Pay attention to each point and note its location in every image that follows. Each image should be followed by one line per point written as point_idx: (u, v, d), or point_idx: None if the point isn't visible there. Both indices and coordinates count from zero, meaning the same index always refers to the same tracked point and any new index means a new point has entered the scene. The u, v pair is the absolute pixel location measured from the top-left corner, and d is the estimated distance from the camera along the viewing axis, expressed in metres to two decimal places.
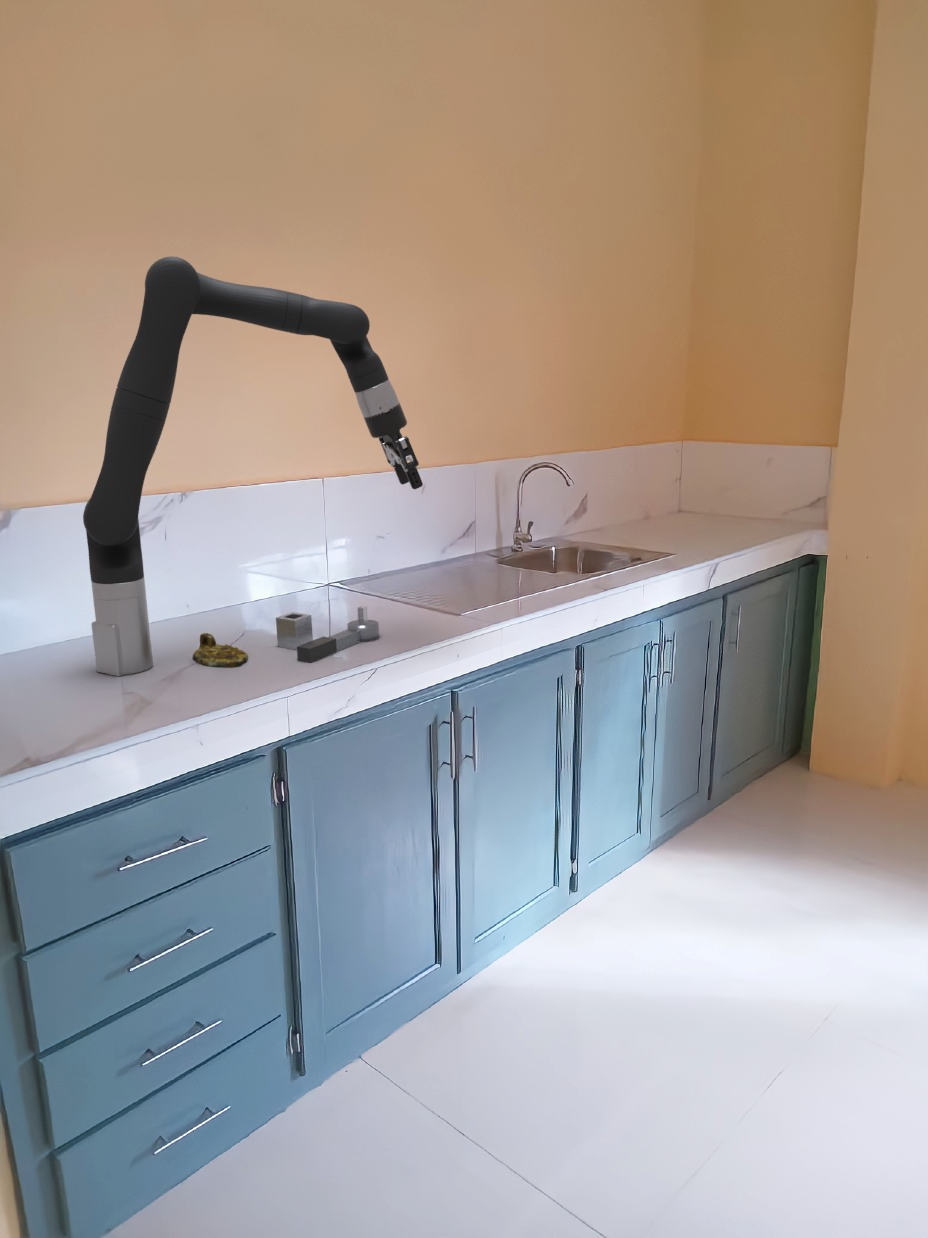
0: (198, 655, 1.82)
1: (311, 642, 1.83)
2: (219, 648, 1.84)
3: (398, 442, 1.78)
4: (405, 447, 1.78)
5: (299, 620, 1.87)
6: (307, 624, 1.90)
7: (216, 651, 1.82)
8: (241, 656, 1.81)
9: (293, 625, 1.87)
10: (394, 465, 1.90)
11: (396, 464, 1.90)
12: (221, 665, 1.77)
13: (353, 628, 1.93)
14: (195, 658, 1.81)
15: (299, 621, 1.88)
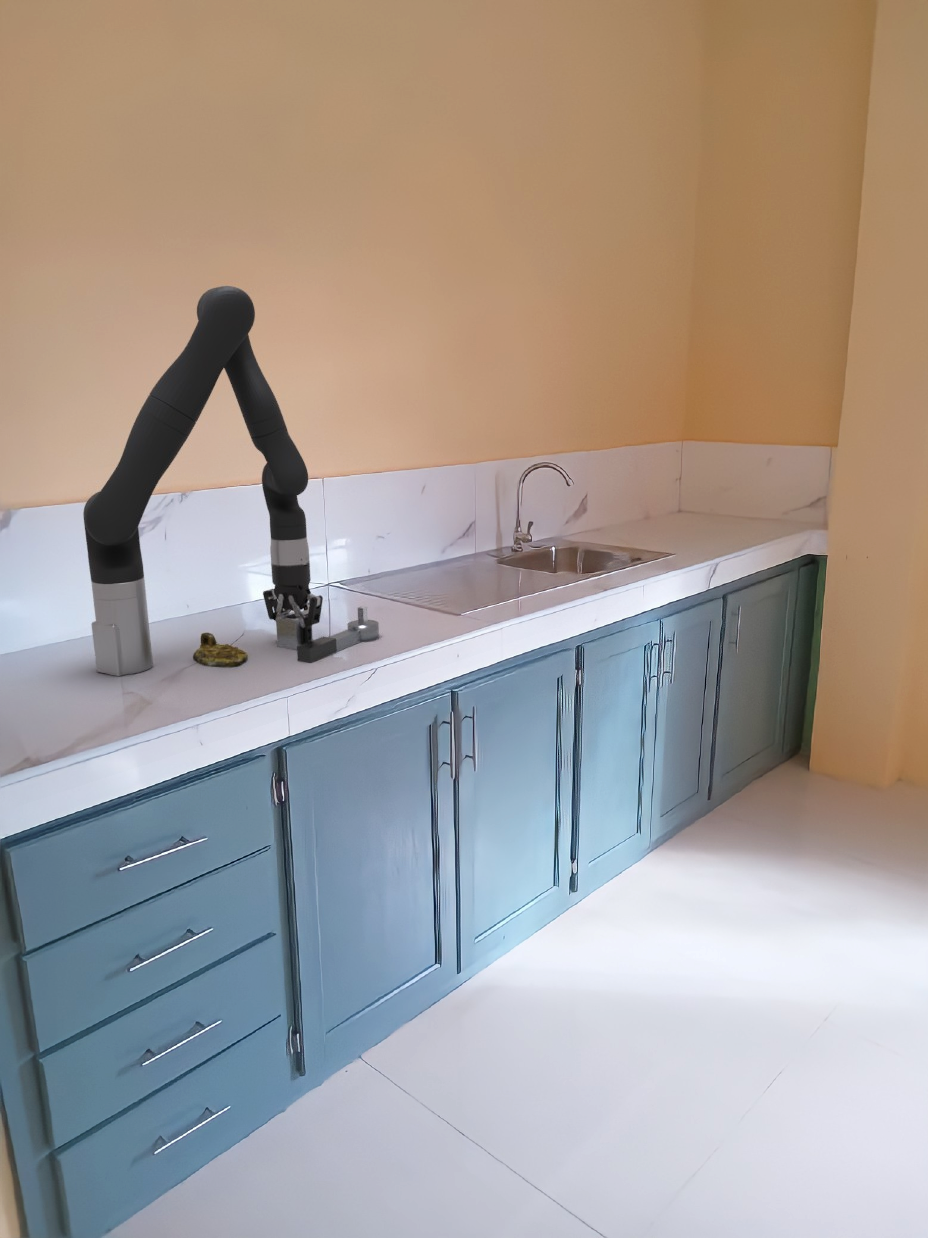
0: (198, 654, 1.82)
1: (311, 642, 1.83)
2: (219, 648, 1.84)
3: (316, 600, 1.84)
4: (317, 606, 1.86)
5: None
6: None
7: (216, 651, 1.83)
8: (241, 656, 1.81)
9: (293, 625, 1.87)
10: None
11: None
12: (220, 665, 1.77)
13: (353, 628, 1.93)
14: (195, 657, 1.82)
15: (299, 621, 1.88)
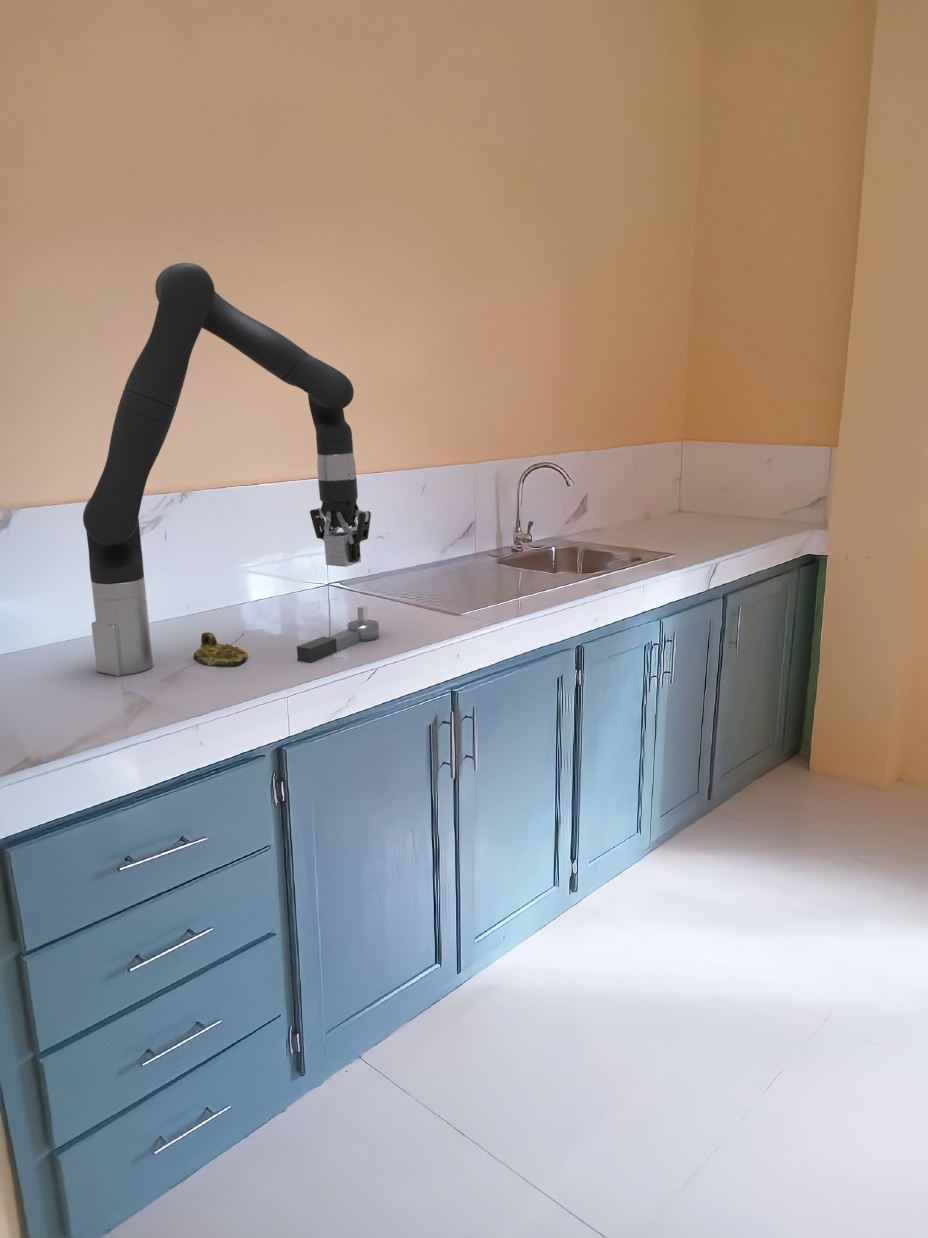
0: (198, 654, 1.82)
1: (311, 642, 1.83)
2: (219, 647, 1.84)
3: (364, 515, 1.84)
4: (366, 521, 1.85)
5: (347, 537, 1.87)
6: None
7: (216, 650, 1.83)
8: (240, 656, 1.81)
9: (342, 542, 1.86)
10: None
11: None
12: (220, 664, 1.78)
13: (353, 628, 1.93)
14: (195, 657, 1.82)
15: (347, 538, 1.87)
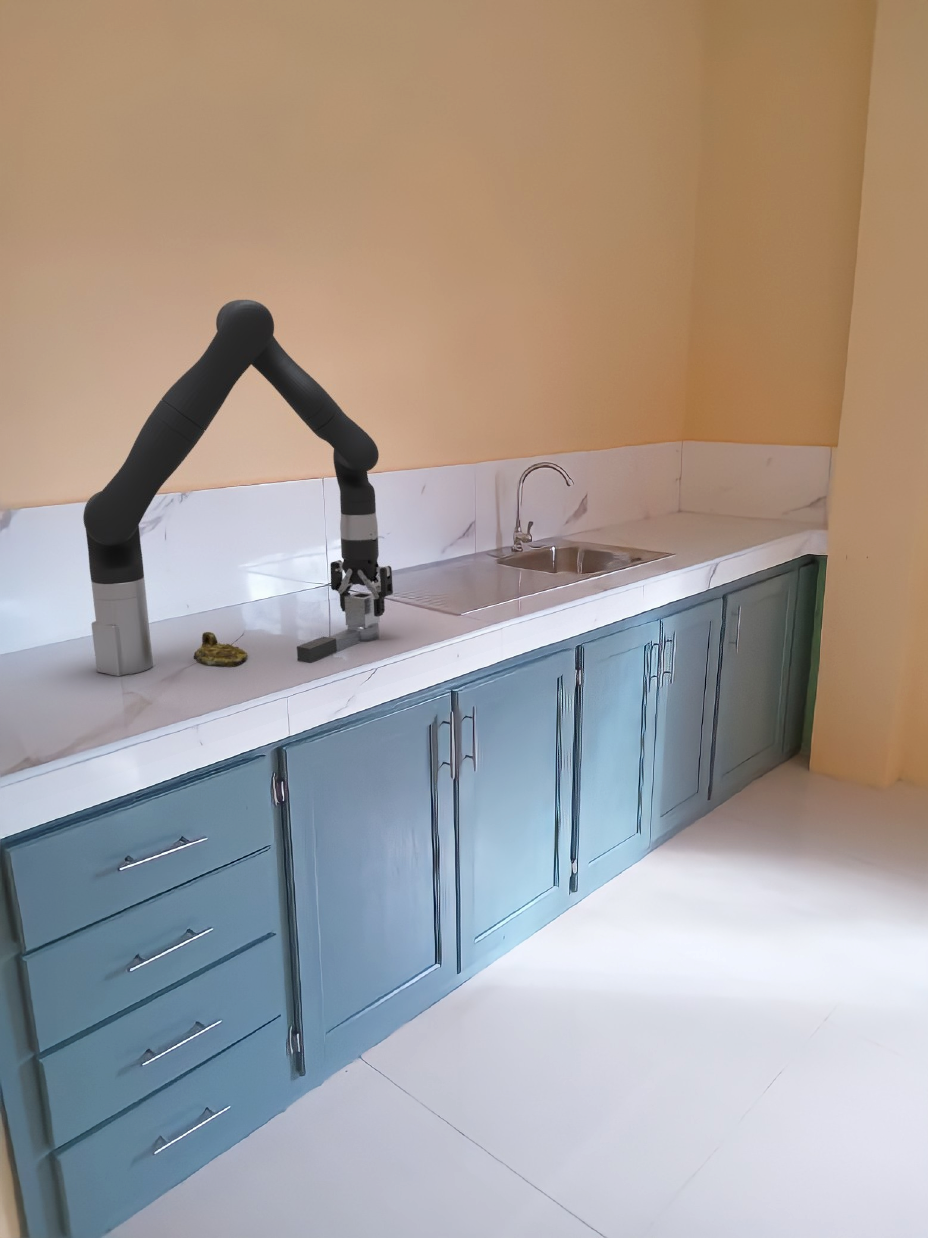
0: (199, 653, 1.83)
1: (311, 642, 1.83)
2: (220, 647, 1.84)
3: (385, 570, 1.88)
4: (388, 576, 1.89)
5: (368, 599, 1.91)
6: None
7: (216, 650, 1.83)
8: (240, 656, 1.81)
9: (362, 604, 1.91)
10: (343, 592, 1.95)
11: (344, 591, 1.95)
12: (219, 664, 1.78)
13: (353, 628, 1.93)
14: (195, 657, 1.82)
15: (368, 600, 1.91)
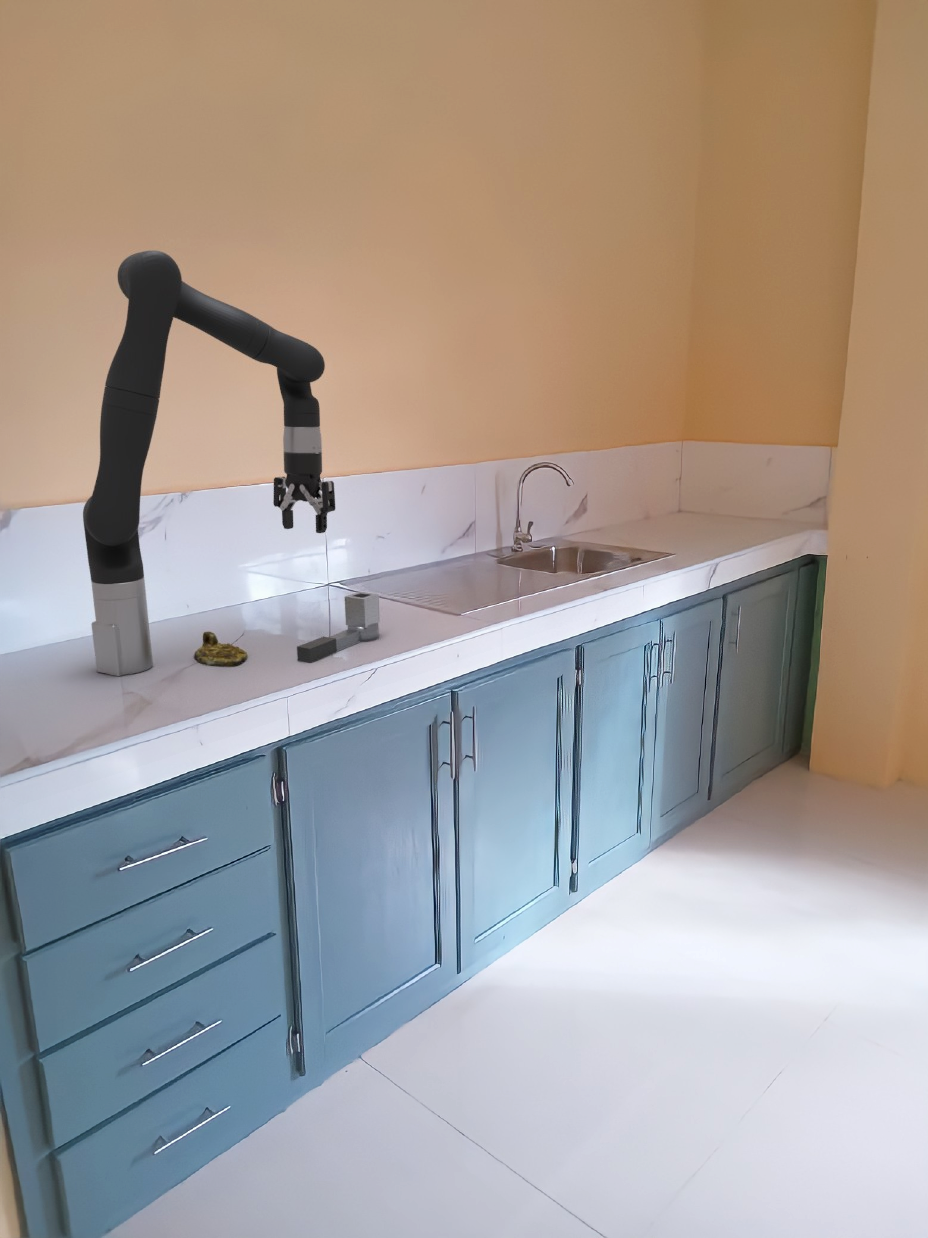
0: (199, 653, 1.83)
1: (311, 642, 1.83)
2: (220, 647, 1.84)
3: (327, 483, 1.85)
4: (330, 490, 1.86)
5: (368, 599, 1.91)
6: (375, 603, 1.94)
7: (216, 650, 1.83)
8: (240, 655, 1.81)
9: (362, 604, 1.91)
10: (285, 508, 1.91)
11: (287, 508, 1.92)
12: (219, 664, 1.78)
13: (353, 628, 1.93)
14: (195, 656, 1.82)
15: (368, 600, 1.91)
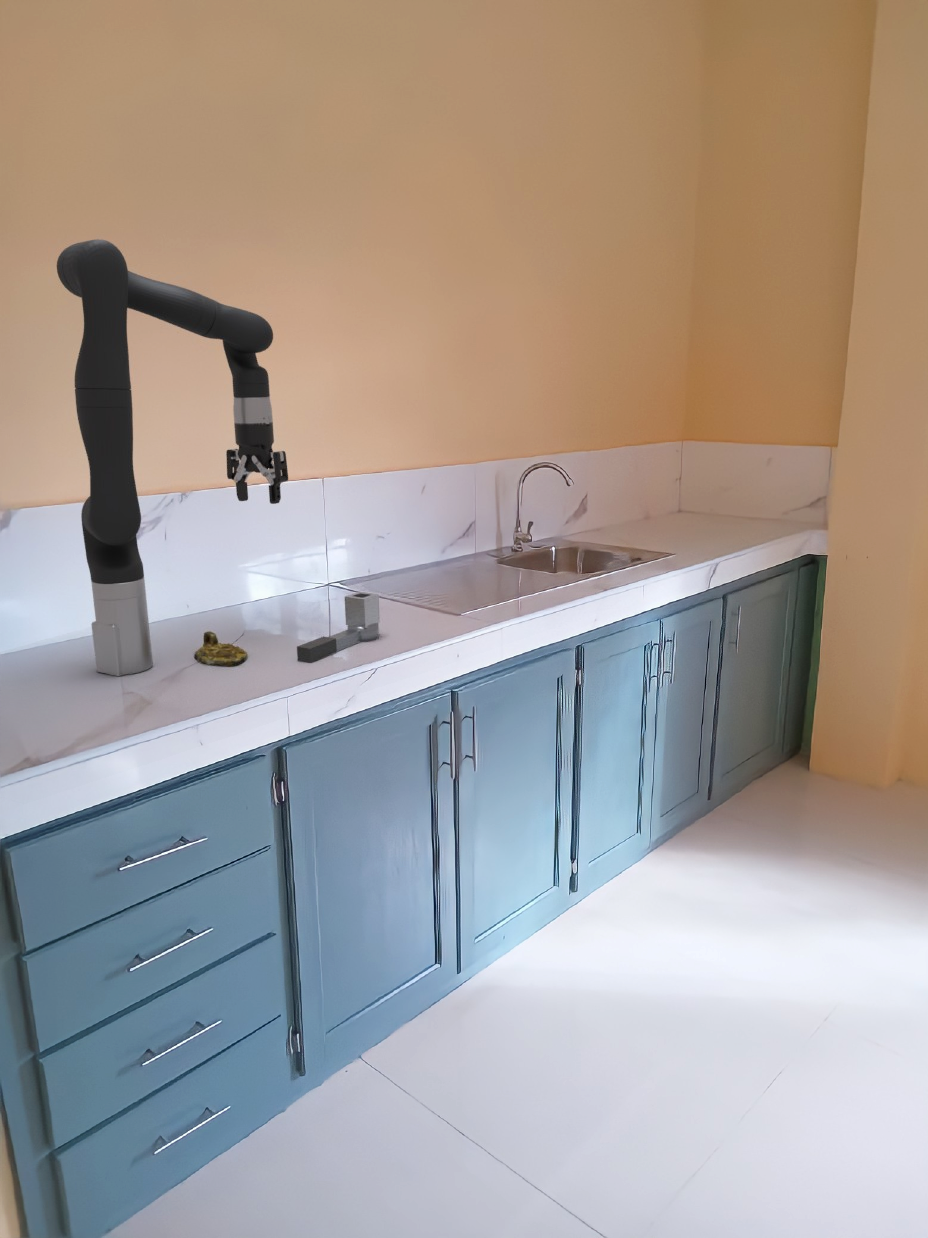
0: (199, 653, 1.83)
1: (311, 642, 1.83)
2: (220, 647, 1.85)
3: (278, 453, 1.85)
4: (282, 460, 1.86)
5: (368, 599, 1.91)
6: (375, 603, 1.94)
7: (217, 650, 1.83)
8: (240, 655, 1.81)
9: (362, 604, 1.91)
10: (239, 480, 1.92)
11: (240, 480, 1.92)
12: (218, 664, 1.78)
13: (353, 628, 1.93)
14: (196, 656, 1.82)
15: (368, 600, 1.91)
